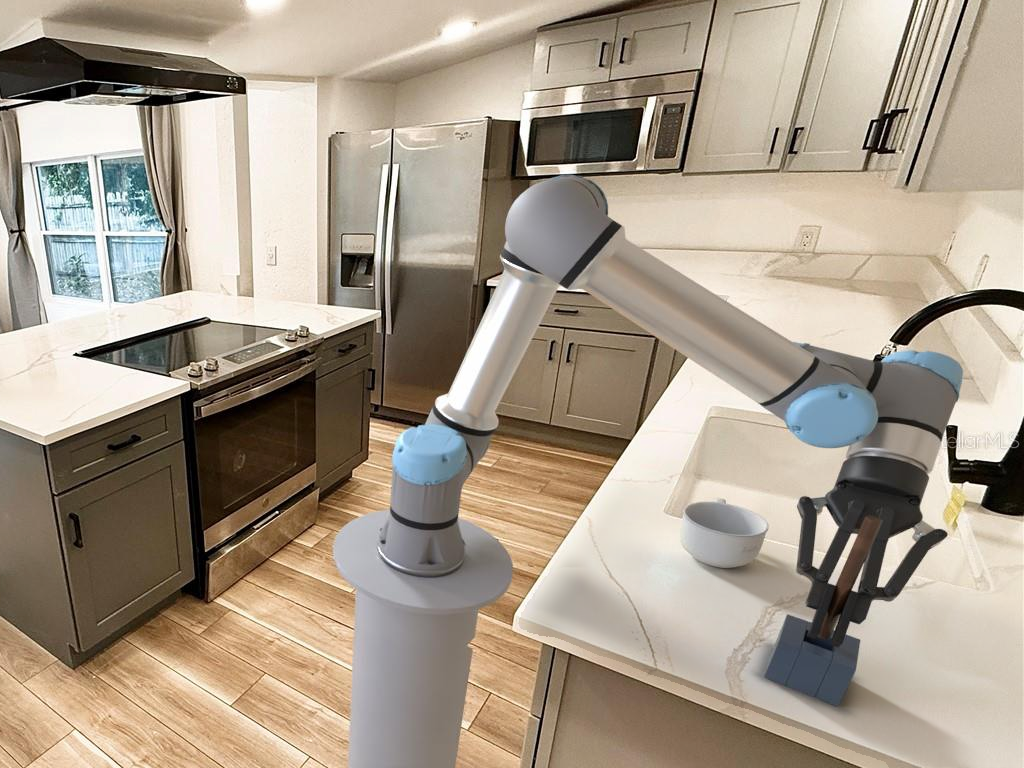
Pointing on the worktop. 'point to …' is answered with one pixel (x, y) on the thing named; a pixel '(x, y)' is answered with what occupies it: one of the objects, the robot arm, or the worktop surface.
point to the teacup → (722, 533)
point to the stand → (812, 662)
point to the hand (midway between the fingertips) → (824, 639)
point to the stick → (850, 573)
